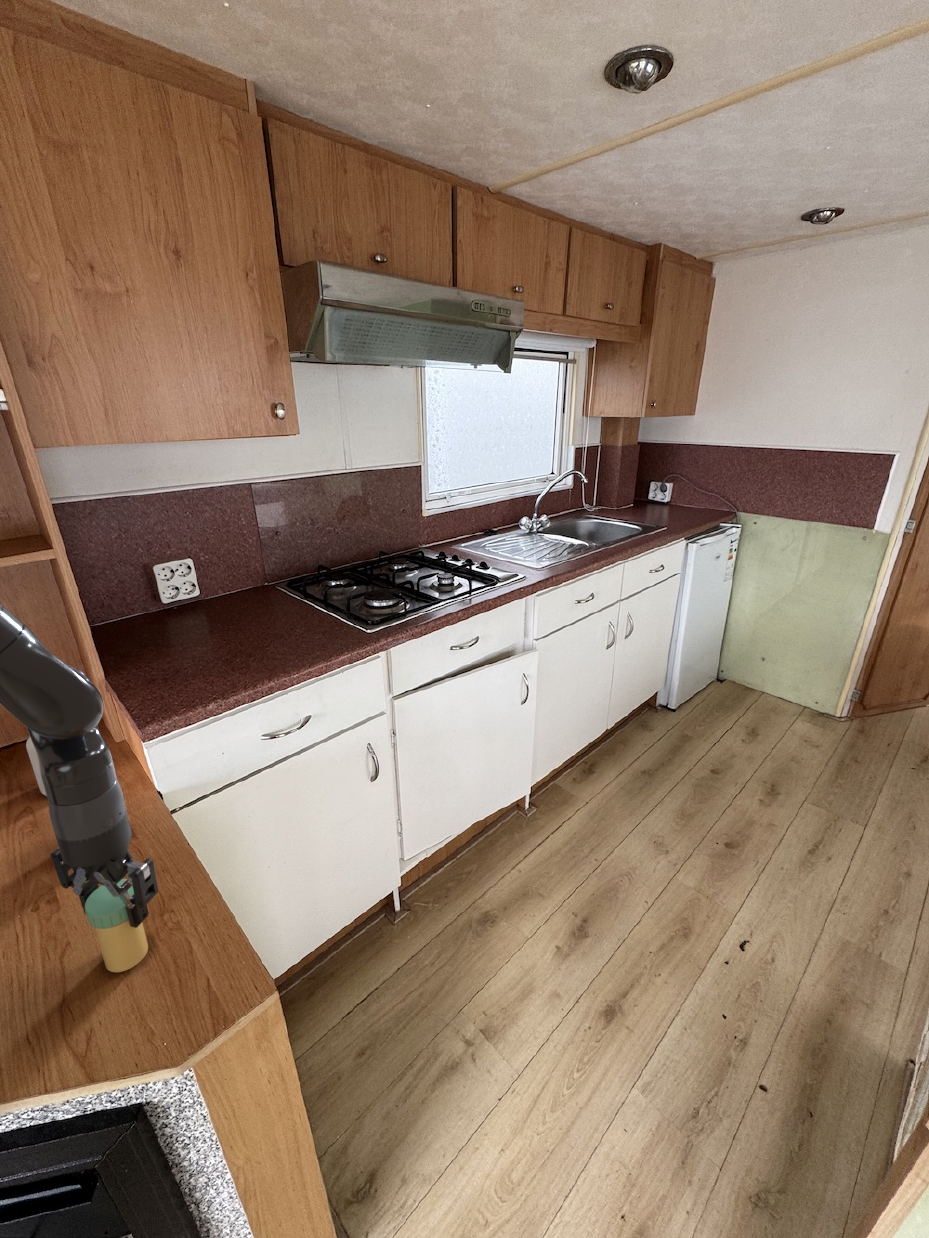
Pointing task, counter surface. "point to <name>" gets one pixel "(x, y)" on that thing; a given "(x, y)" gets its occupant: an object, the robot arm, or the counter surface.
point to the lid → (106, 908)
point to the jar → (122, 946)
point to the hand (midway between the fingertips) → (116, 915)
